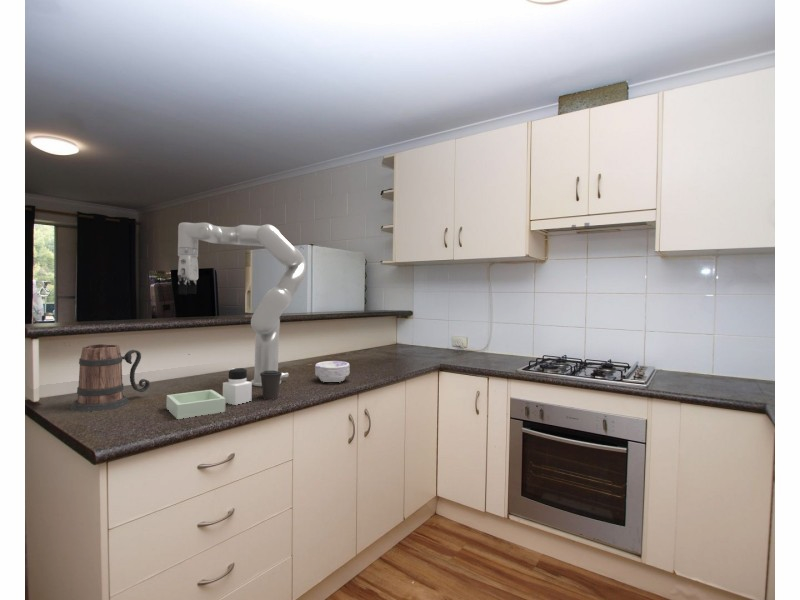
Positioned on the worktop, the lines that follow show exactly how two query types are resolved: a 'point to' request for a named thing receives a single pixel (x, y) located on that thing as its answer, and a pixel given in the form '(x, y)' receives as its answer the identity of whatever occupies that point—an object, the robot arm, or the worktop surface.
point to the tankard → (104, 378)
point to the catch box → (195, 404)
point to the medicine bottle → (237, 387)
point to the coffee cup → (270, 384)
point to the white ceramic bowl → (332, 371)
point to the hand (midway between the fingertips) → (187, 294)
